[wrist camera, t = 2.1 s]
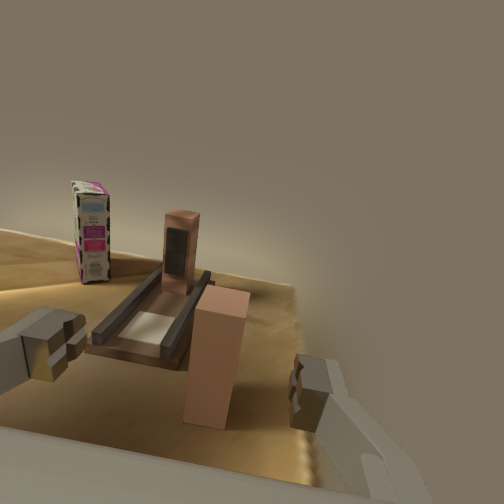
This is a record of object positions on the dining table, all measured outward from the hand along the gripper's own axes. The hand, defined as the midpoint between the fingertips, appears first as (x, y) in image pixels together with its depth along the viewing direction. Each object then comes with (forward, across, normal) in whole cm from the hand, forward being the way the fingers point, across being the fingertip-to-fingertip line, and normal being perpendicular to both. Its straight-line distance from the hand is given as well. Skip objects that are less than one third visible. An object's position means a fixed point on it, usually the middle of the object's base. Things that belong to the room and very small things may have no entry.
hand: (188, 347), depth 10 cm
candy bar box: (+37, +30, +20) cm, 51 cm away
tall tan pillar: (+13, 0, +20) cm, 24 cm away
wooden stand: (+28, +12, +20) cm, 36 cm away
